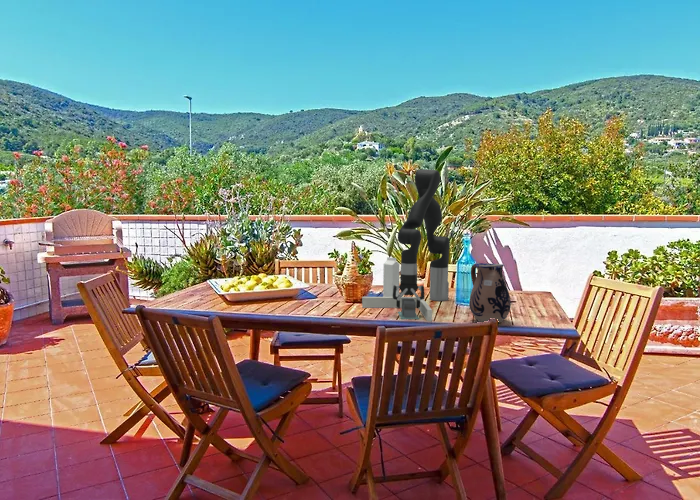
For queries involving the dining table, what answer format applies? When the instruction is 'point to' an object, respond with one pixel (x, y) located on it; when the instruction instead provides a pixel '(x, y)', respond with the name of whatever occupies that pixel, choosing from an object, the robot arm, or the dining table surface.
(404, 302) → the bar
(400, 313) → the pad
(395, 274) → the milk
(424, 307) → the arena
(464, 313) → the dining table surface
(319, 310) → the dining table surface
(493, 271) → the ceramic pitcher
